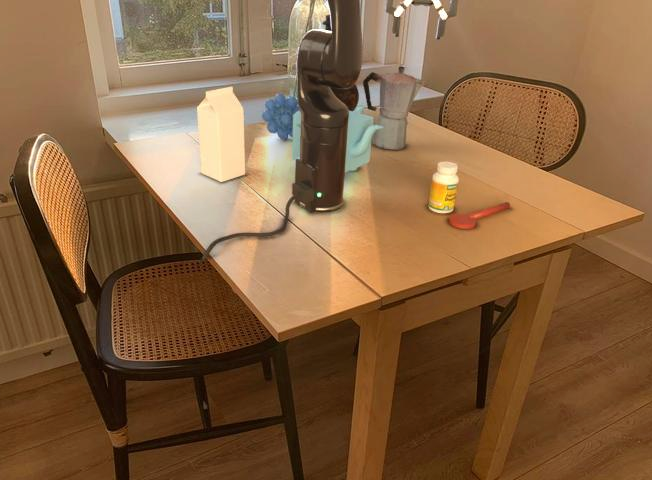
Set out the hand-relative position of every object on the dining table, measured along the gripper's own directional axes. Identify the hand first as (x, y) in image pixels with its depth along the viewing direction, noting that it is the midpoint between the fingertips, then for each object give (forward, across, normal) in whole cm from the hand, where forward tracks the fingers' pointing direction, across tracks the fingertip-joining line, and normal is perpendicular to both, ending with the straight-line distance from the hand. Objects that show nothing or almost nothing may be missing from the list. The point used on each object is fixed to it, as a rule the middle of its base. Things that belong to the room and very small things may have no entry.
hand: (417, 37), depth 121 cm
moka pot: (+30, -3, +20) cm, 36 cm away
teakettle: (+30, -16, 0) cm, 34 cm away
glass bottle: (+30, -20, +41) cm, 55 cm away
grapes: (+30, -30, +18) cm, 46 cm away
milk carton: (+30, -40, -8) cm, 51 cm away
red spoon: (+30, +16, -21) cm, 40 cm away
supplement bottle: (+30, +8, -18) cm, 36 cm away
